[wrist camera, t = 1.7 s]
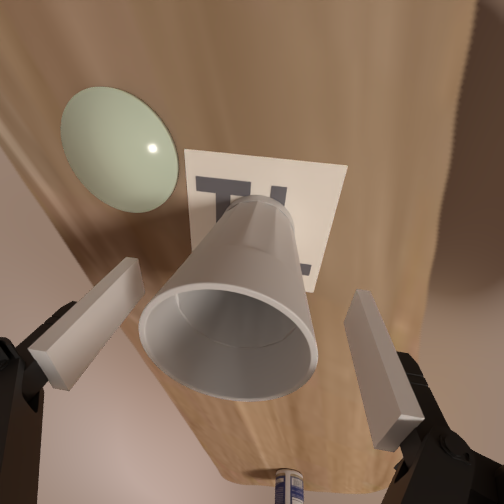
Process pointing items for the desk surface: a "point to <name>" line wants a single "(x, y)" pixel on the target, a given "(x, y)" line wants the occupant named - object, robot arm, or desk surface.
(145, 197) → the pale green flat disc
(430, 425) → the robot arm
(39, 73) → the desk surface
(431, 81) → the desk surface
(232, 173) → the tile
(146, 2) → the desk surface
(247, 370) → the cup
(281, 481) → the pill bottle
